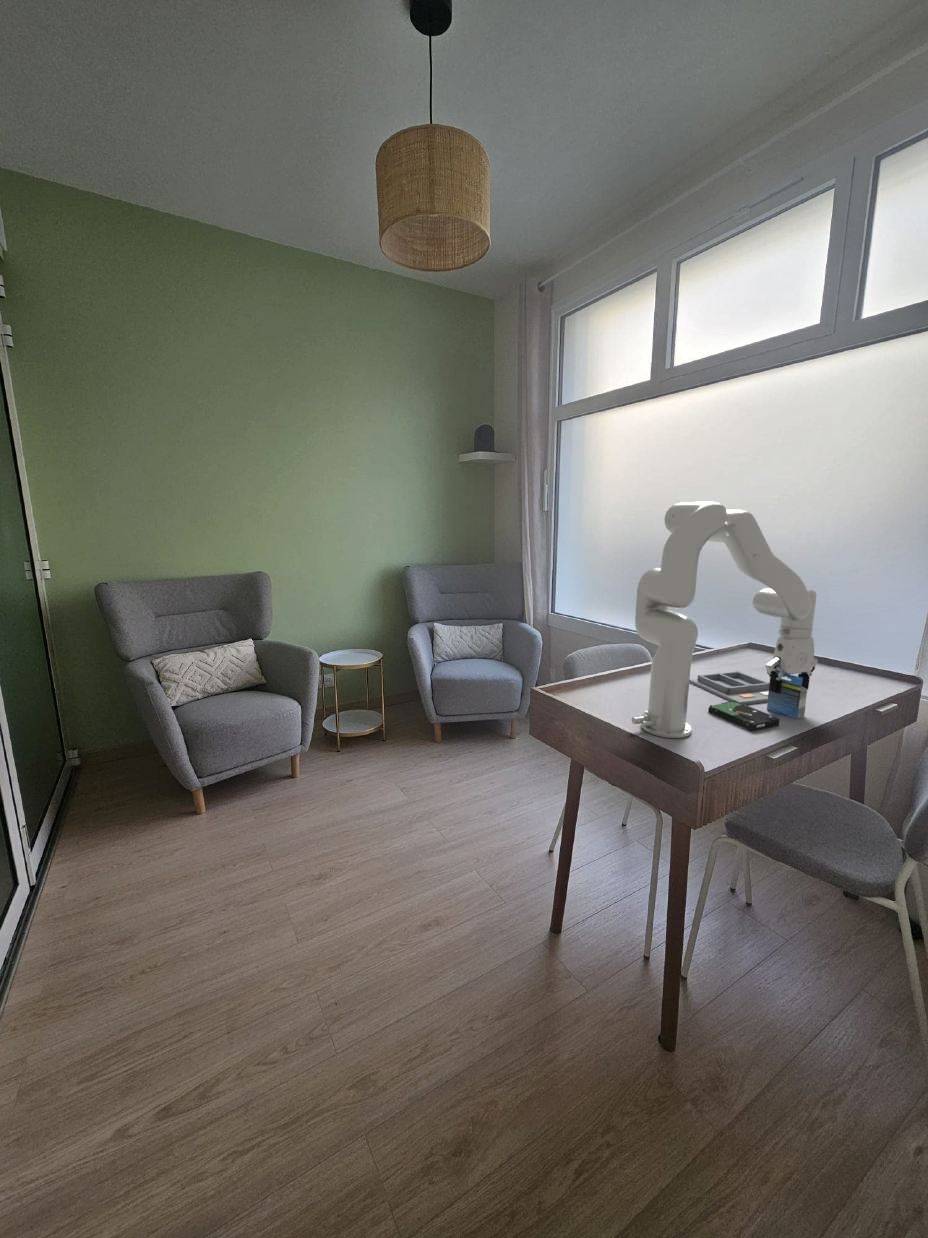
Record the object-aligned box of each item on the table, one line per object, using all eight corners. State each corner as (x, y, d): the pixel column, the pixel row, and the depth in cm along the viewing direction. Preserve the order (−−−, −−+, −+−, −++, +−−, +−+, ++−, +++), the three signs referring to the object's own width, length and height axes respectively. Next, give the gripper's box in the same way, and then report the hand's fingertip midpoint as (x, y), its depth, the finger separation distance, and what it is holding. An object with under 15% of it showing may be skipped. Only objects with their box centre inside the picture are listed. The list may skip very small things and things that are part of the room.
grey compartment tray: (739, 705, 152) (740, 696, 152) (689, 682, 173) (689, 674, 172) (792, 698, 157) (793, 689, 157) (737, 677, 178) (738, 669, 178)
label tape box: (804, 717, 144) (810, 675, 141) (797, 719, 142) (802, 677, 139) (773, 707, 151) (778, 667, 149) (765, 709, 149) (770, 669, 147)
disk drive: (779, 728, 138) (732, 708, 151) (781, 718, 137) (733, 699, 151) (752, 734, 134) (706, 713, 147) (753, 724, 133) (707, 704, 147)
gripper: (782, 637, 136) (775, 698, 139) (832, 632, 140) (824, 691, 144) (759, 631, 143) (753, 689, 146) (807, 627, 147) (801, 683, 151)
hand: (788, 690), depth 145 cm, fingers open, 9 cm apart
